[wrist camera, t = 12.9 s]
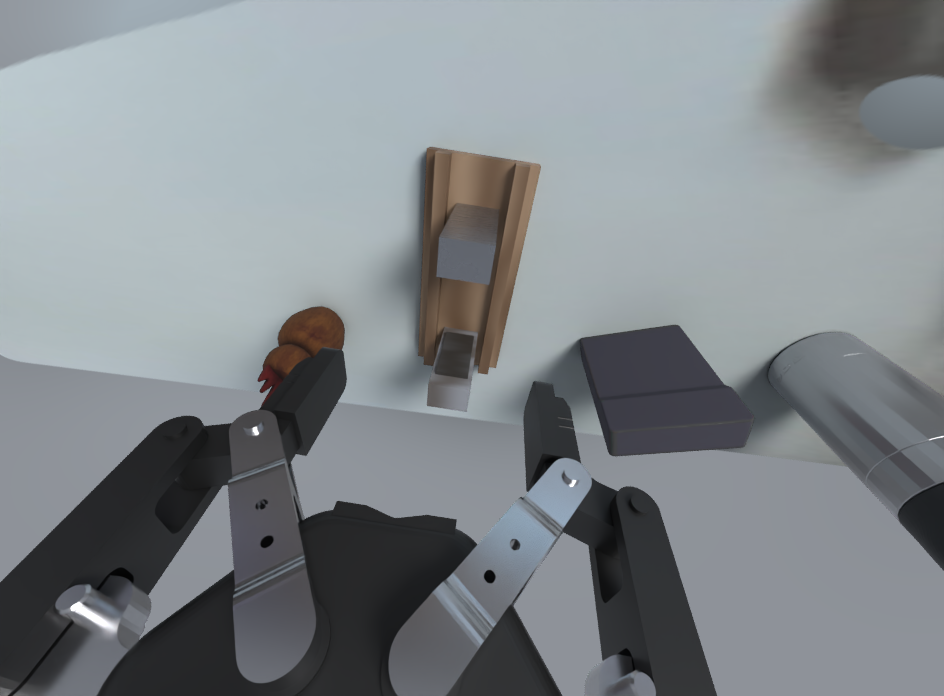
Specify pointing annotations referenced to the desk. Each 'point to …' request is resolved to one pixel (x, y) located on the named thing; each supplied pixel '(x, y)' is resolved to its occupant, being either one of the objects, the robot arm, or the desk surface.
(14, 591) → the robot arm
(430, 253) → the rail
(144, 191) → the desk surface
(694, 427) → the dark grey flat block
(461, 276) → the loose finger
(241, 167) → the desk surface
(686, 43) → the desk surface
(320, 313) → the wooden figurine
